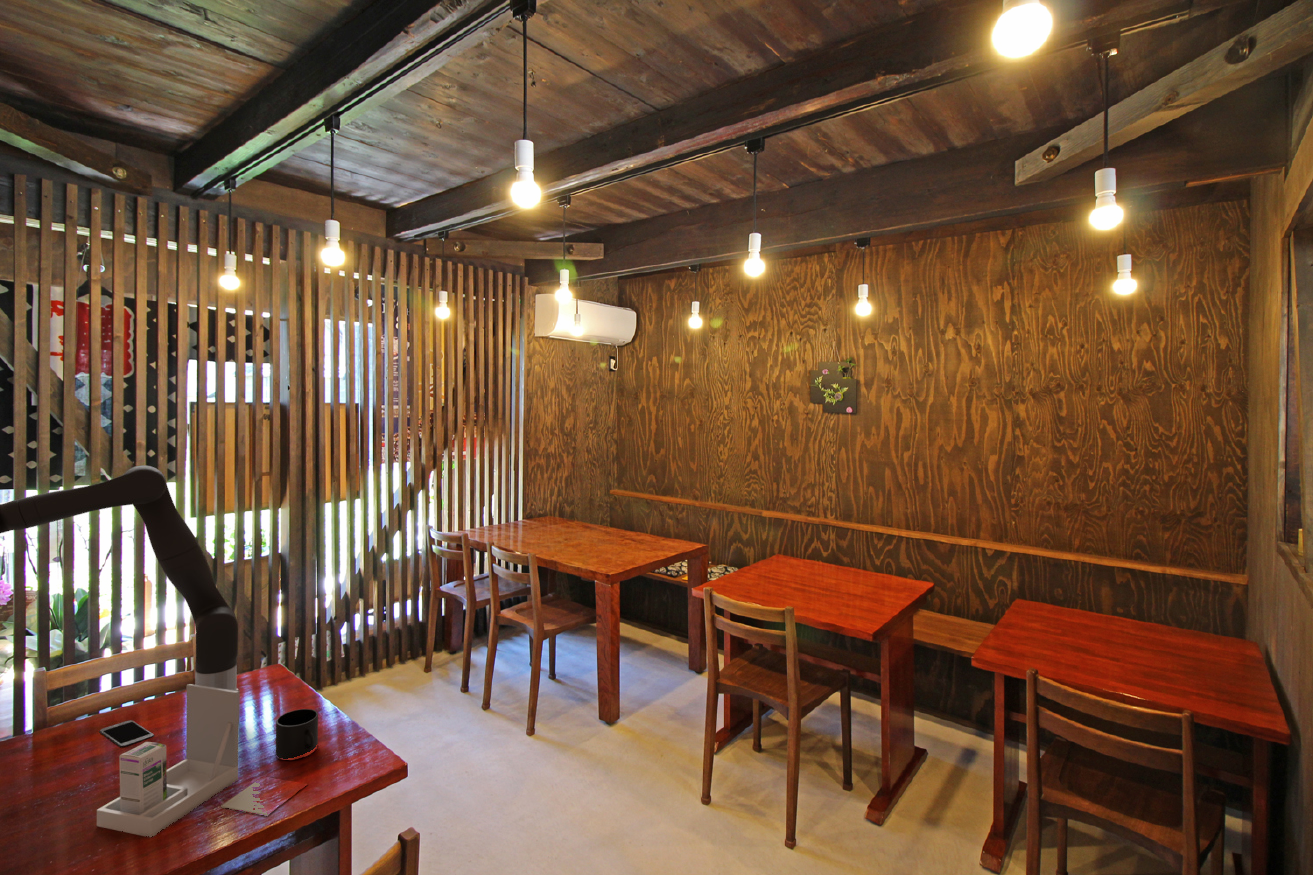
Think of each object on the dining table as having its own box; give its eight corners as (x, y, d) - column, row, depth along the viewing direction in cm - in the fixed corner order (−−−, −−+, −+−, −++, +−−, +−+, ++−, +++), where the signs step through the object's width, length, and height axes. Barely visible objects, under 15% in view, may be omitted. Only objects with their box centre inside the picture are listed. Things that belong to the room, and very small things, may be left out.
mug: (293, 769, 154) (294, 733, 154) (268, 753, 161) (268, 719, 160) (330, 752, 162) (331, 718, 162) (305, 738, 169) (305, 705, 168)
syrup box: (141, 825, 132) (141, 757, 132) (118, 820, 134) (118, 753, 133) (167, 808, 138) (167, 743, 137) (145, 804, 139) (145, 740, 139)
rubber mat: (264, 776, 151) (264, 775, 151) (308, 784, 148) (308, 783, 148) (220, 807, 139) (220, 805, 139) (267, 816, 137) (267, 814, 136)
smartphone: (131, 721, 175) (131, 718, 175) (156, 737, 167) (155, 734, 167) (97, 732, 168) (97, 729, 168) (121, 750, 161) (121, 746, 161)
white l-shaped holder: (189, 770, 152) (189, 683, 151) (238, 779, 149) (238, 691, 148) (96, 825, 132) (96, 725, 131) (151, 837, 129) (151, 734, 128)
